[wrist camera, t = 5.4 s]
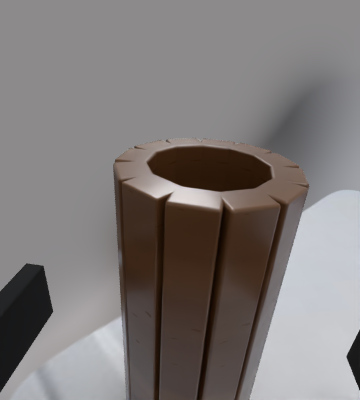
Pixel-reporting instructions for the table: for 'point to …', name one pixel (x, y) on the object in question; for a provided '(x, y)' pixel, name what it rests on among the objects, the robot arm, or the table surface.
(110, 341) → the table surface
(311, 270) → the table surface
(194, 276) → the brown wooden hollow cylinder
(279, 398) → the table surface
